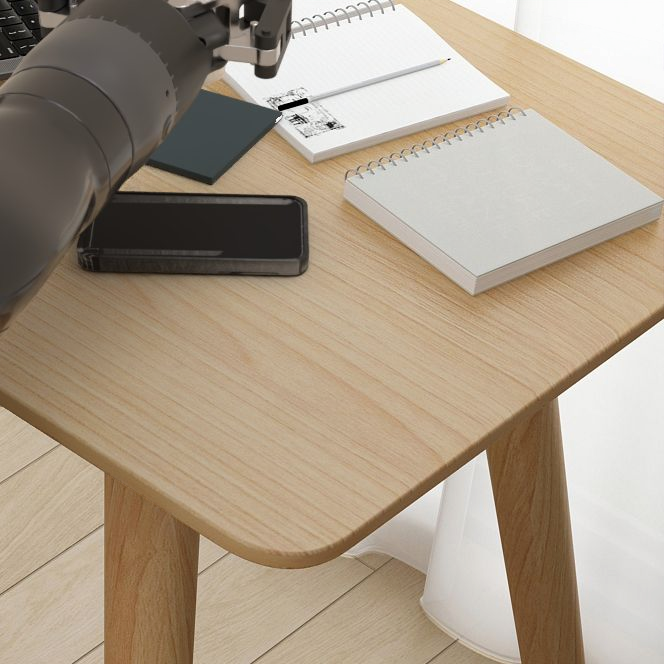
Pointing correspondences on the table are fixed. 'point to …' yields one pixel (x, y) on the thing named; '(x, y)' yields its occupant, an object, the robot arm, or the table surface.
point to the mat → (212, 136)
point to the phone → (198, 234)
